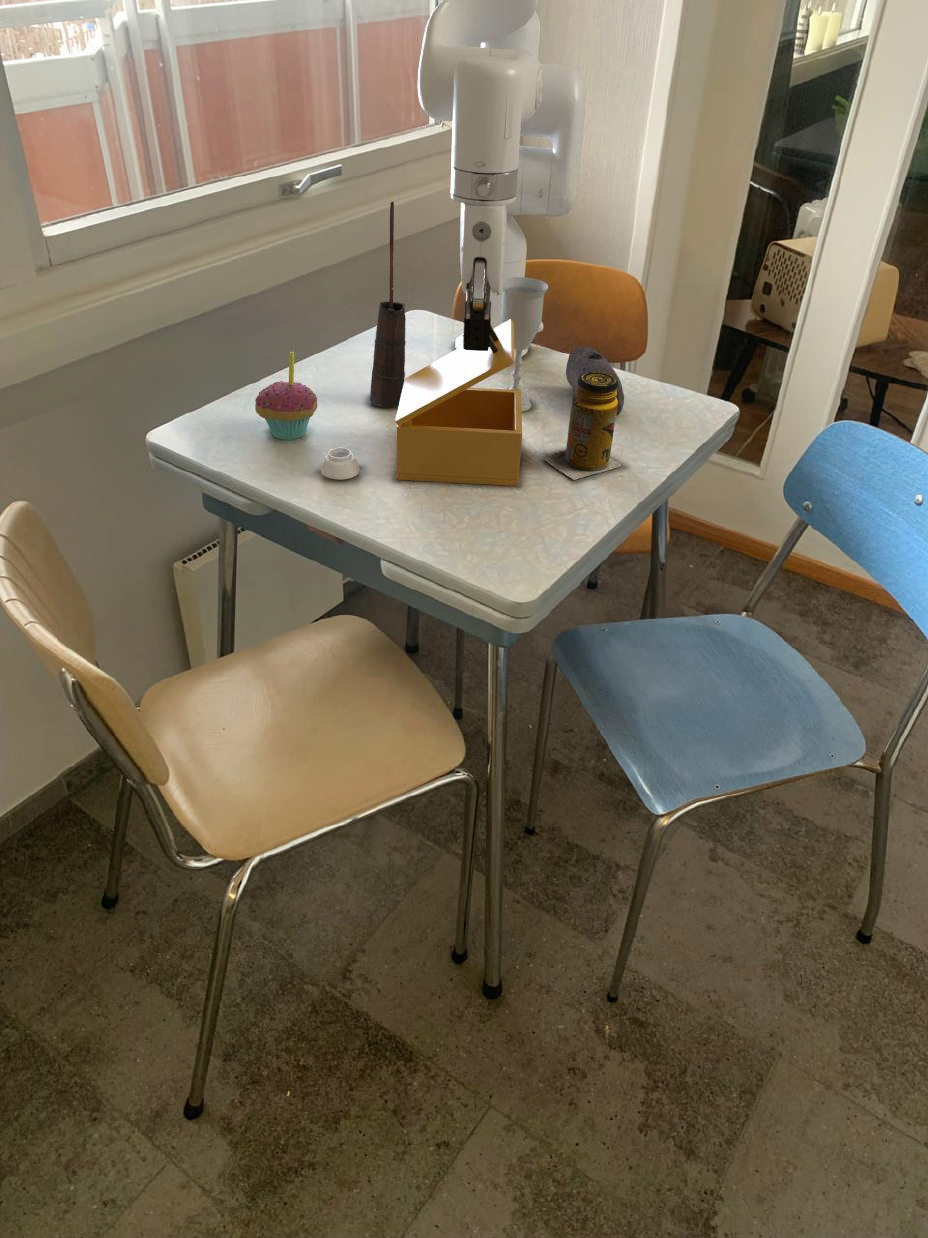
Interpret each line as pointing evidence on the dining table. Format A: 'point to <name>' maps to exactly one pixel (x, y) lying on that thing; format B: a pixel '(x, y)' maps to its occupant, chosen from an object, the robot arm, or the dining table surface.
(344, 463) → the white jar
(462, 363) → the lid
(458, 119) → the robot arm
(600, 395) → the condiment
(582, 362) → the perforated stone tool
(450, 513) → the dining table surface
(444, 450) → the open wooden box
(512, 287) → the chalice
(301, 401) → the cupcake
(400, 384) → the butter churn
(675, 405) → the dining table surface
